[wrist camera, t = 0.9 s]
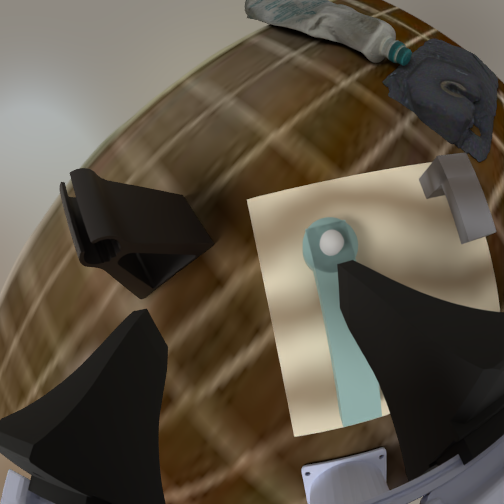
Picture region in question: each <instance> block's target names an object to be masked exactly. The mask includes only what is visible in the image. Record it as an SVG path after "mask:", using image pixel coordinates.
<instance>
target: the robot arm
mask: <svg viewBox="0 0 504 504" xmlns="http://www.w3.org/2000/svg"><path fill="white" fill-rule="evenodd" d="M337 269H338V283H339V302H340V310H341V312H342V315H343V317H344V319H345V322H346V324H347V326H348V329H349V331H350V332H351V334H352V336H353V338H354V339H355V341H356V343H357V345H358V346H359V348H360V350H361V352H362V353H363V355H364V357H365V358H366V360H367V362H368V364H369V366H370V367H371V369H372V371H373V373H374V375H375V377H376V379H377V381H378V383H379V385H380V388H381V390H382V393H383V395H384V398H385V400H386V403H387V406H388V409H389V412H390V415H391V417H392V420H393V423H394V427H395V430H396V433H397V437H398V440H399V444H400V448H401V452H402V456H403V461H404V465H405V470H406V475H407V477H408V480H409V482H408V483H406V484H403V485H401V486H399V487H397V488H394V489H392V490H389V488H388V486H387V483H386V471H387V463H386V449H385V448H383V447H382V448H378V449H375V450H371V451H368V452H364V453H360V454H357V455H353V456H349V457H344V458H340V459H336V460H331V461H326V462H320V463H315V464H309V465H304V466H303V467H302V476H303V481H304V486H305V492H306V497H307V502H308V504H408V503H410V502H412V501H414V500H416V499H418V498H420V497H422V496H423V498H422V499H421V501H420V504H504V312H495V311H488V310H482V309H476V308H471V307H467V306H463V305H459V304H455V303H451V302H448V301H445V300H442V299H439V298H436V297H433V296H430V295H427V294H424V293H422V292H419V291H417V290H415V289H412V288H410V287H408V286H405V285H403V284H401V283H399V282H397V281H395V280H392V279H390V278H388V277H386V276H384V275H382V274H380V273H378V272H376V271H374V270H372V269H370V268H369V267H367V266H365V265H362V264H360V263H358V262H356V261H354V260H351V261H347V262H343V263H340V264H337ZM167 359H168V346H167V344H166V343H165V341H164V339H163V337H162V336H161V334H160V332H159V330H158V328H157V327H156V325H155V323H154V321H153V319H152V317H151V316H150V314H149V312H148V310H147V309H143V310H138V311H133V312H132V313H131V314H130V315H129V316H128V317H127V318H126V319H125V320H124V321H123V322H122V323H121V324H120V325H119V326H118V327H117V328H116V329H115V330H114V331H113V332H112V333H111V334H110V335H109V337H108V338H107V339H106V340H105V341H104V342H103V343H102V344H101V345H100V346H99V347H98V348H97V349H96V350H95V351H94V353H93V354H92V355H91V356H90V357H89V358H88V359H87V360H86V361H85V362H84V363H83V364H82V365H81V366H80V367H79V368H78V369H77V370H76V371H74V372H73V373H72V374H71V375H70V376H69V377H68V378H66V379H65V380H64V381H63V382H62V383H60V384H59V385H58V386H56V387H55V388H54V389H52V390H51V391H50V392H48V393H47V394H46V395H44V396H43V397H41V398H40V399H38V400H37V401H35V402H34V403H32V404H30V405H28V406H27V407H25V408H23V409H21V410H19V411H17V412H15V413H13V414H11V415H9V416H7V417H4V418H2V419H1V420H0V453H1V454H3V455H4V456H5V457H6V458H8V459H9V460H10V461H12V462H13V463H14V464H16V465H17V466H19V467H20V468H22V469H23V470H25V471H26V472H28V473H29V474H31V475H32V476H31V480H29V479H27V478H26V477H24V476H22V475H20V474H18V473H16V472H15V471H13V470H11V469H9V470H8V474H7V477H6V481H5V485H4V489H3V494H2V499H1V503H0V504H165V499H164V494H163V489H162V482H161V474H160V465H159V447H158V431H159V416H160V409H161V403H162V397H163V391H164V385H165V379H166V372H167ZM380 455H383V456H382V457H379V456H380ZM306 472H310V473H309V474H306ZM424 495H425V496H424Z"/></svg>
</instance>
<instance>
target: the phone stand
mask: <svg viewBox="0 0 504 504" xmlns="http://www.w3.org/2000/svg"><path fill="white" fill-rule="evenodd" d="M70 176H71V180H72V184H73V188H74V191H75V195H76V198H73V197H69V196H68V194H67V190H66V186H65V183H64V182H61V184H60V194H61V199H62V203H63V207H64V211H65V215H66V218H67V222H68V226H69V229H70V232H71V236H72V239H73V242H74V245H75V249H76V252H77V255H78V258H79V260H80V263H81V264H82V265H84V266H87V267H96V268H101V269H103V270H105V271H106V272H107V273H109V274H110V275H111V276H112V277H113V278H115V279H116V280H117V281H118V282H119V283H121V284H122V285H123V286H124V287H126V288H127V289H128V290H129V291H131V292H132V293H133V294H134V295H136V296H137V297H138V298H140V299H144V298H145V297H147V296H148V295H149V294H150V293H152V292H153V291H154V290H156V289H157V288H158V287H159V286H161V285H162V284H163V283H165V282H166V281H167V280H169V279H170V278H171V277H172V276H174V275H175V273H177V272H179V271H180V270H182V269H183V268H184V267H186V266H187V265H188V264H190V263H191V262H192V261H194V260H195V259H196V258H198V257H199V256H200V255H202V254H203V253H204V252H206V251H207V250H208V249H210V248H211V247H212V246H213V245H214V243H213V241H212V240H211V238H210V237H209V235H208V234H207V232H206V231H205V229H204V228H203V226H202V224H201V223H200V221H199V220H198V218H197V217H196V215H195V214H194V212H193V211H192V209H191V207H190V206H189V204H188V203H187V201H186V200H185V198H184V197H183V195H179V194H174V193H169V192H164V191H160V190H155V189H149V188H144V187H139V186H134V185H129V184H123V183H118V182H112V181H107V180H104V179H102V178H100V177H99V176H98V175H97V174H96V173H95V172H94V171H92V170H90V169H86V168H81V169H76V170H74V171H72V172H70Z"/></svg>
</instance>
